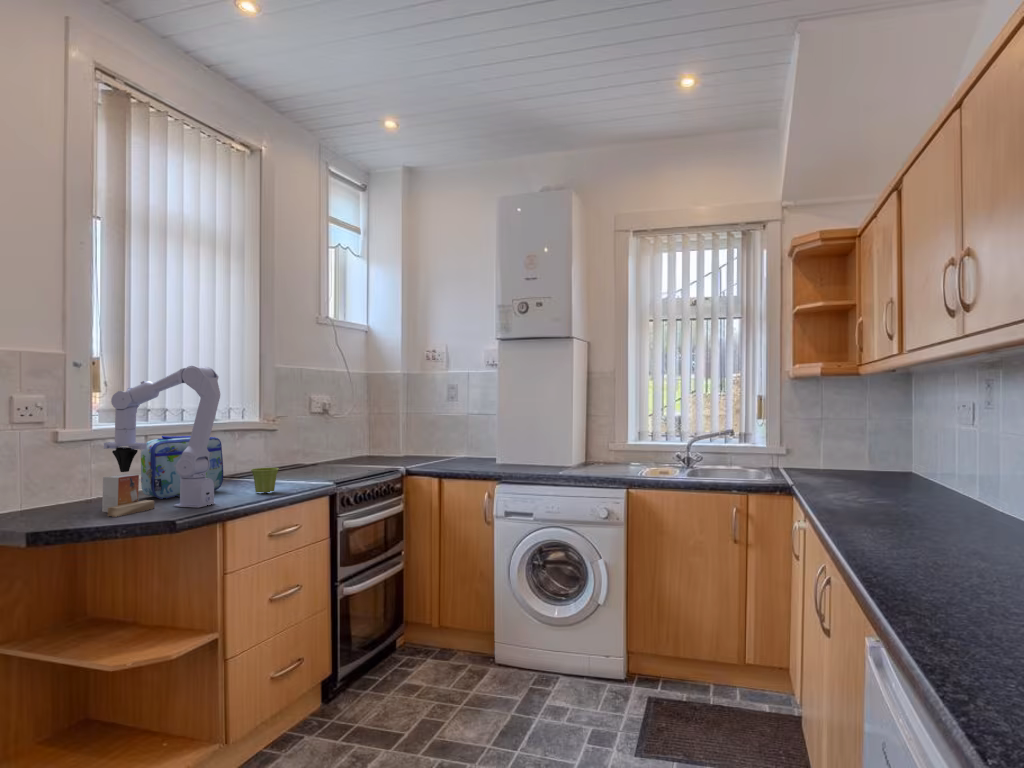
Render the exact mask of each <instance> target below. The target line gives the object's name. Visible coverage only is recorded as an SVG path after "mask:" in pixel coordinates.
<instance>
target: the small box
mask: <svg viewBox="0 0 1024 768" xmlns="http://www.w3.org/2000/svg"><path fill="white" fill-rule="evenodd" d="M139 477H140V475H139V474H126V473H125V474H123V473H122V474H118V475H113V476H112V475H111V476H103V477H102V500H101V501H102V502H101V503H102V508H101V510H102V513H108V508H109V507H114V506H119V505H124V504H129V503H134V502H139V484H140V483H139V482H140V479H139Z"/></svg>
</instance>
